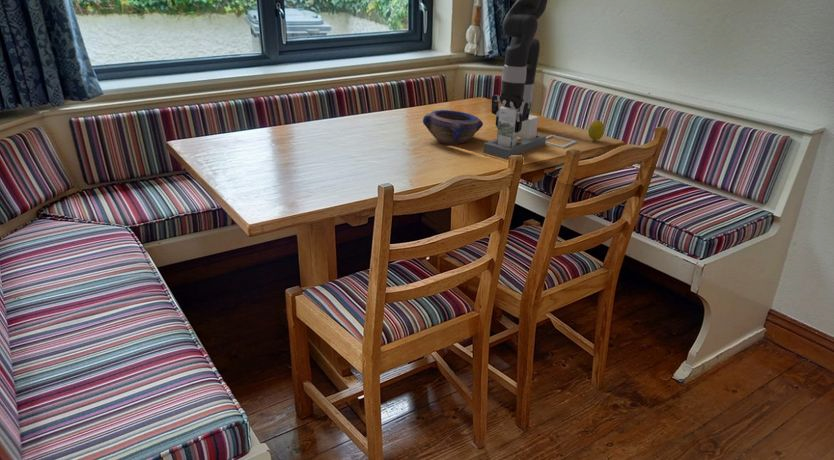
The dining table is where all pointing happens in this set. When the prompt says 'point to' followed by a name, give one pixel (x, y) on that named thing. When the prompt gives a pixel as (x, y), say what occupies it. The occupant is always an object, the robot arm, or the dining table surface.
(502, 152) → the socket strip
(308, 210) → the dining table surface
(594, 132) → the lemon
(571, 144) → the tray
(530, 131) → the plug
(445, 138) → the bowl
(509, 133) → the syrup box
